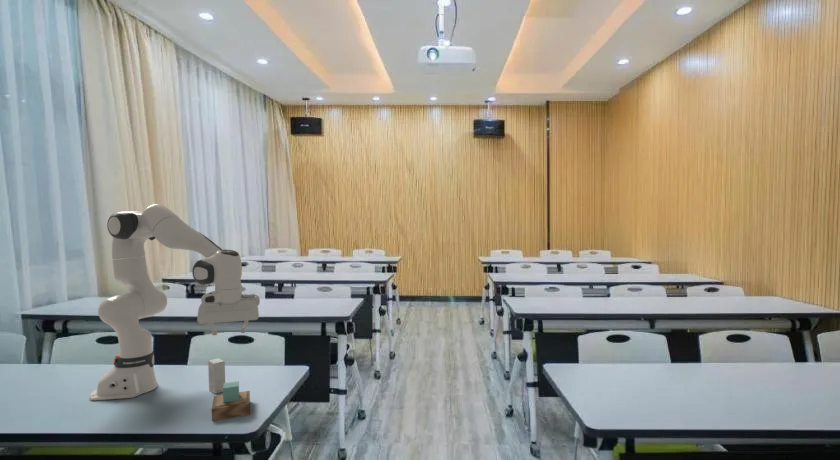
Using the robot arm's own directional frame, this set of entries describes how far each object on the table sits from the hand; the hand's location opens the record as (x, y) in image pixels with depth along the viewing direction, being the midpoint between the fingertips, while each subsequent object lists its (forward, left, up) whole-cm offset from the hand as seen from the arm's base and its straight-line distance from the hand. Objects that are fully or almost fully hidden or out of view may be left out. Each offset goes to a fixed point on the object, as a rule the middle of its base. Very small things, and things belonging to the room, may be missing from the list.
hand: (229, 333), depth 163 cm
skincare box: (-6, +19, -27) cm, 33 cm away
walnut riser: (0, -3, -27) cm, 27 cm away
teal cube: (0, -3, -22) cm, 23 cm away
